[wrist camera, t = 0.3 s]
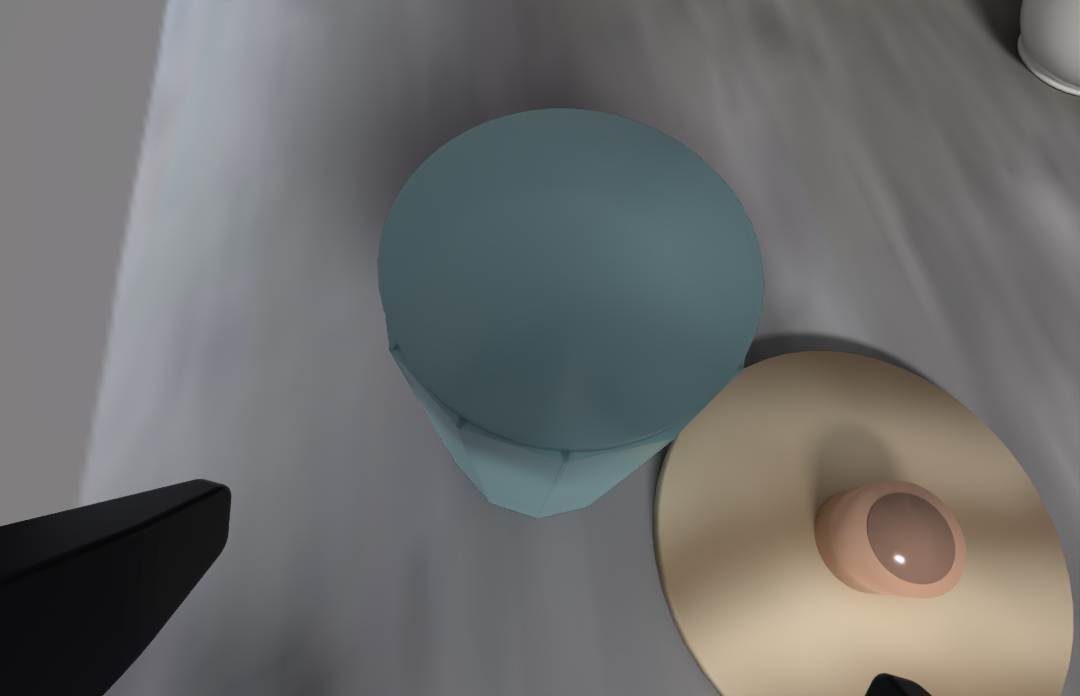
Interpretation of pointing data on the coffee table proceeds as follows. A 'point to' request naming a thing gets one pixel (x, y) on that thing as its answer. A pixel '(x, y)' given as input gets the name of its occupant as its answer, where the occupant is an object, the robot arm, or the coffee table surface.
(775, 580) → the oak plate
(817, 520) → the bowl
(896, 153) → the coffee table surface
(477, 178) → the teal domed canister
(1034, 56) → the lidded jar
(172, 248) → the coffee table surface
